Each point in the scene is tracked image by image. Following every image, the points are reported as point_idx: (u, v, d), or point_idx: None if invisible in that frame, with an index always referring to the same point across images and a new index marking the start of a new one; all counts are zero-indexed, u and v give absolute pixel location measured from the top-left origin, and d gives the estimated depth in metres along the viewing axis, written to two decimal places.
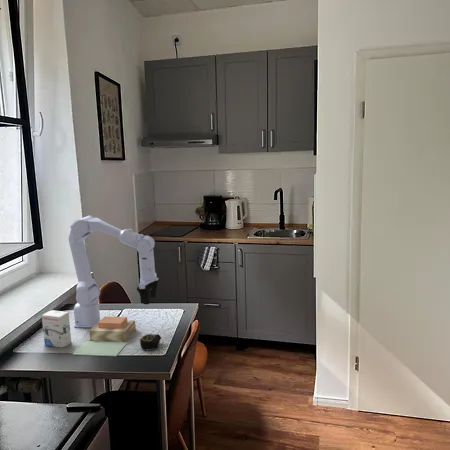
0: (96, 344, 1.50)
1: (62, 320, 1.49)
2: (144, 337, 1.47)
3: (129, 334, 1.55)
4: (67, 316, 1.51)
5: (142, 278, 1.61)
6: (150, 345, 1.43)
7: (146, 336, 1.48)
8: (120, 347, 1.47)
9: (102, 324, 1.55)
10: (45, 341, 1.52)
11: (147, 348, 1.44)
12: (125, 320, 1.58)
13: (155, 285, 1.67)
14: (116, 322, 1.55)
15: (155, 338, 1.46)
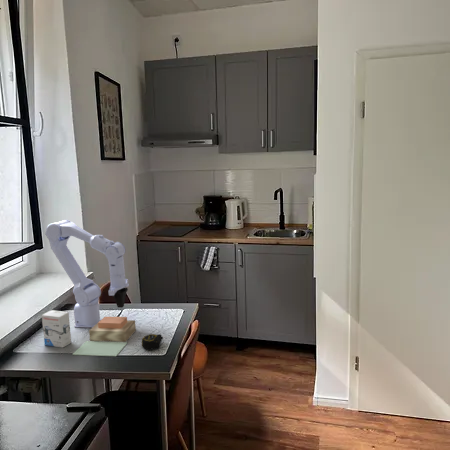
0: (96, 344, 1.50)
1: (62, 320, 1.49)
2: (146, 337, 1.47)
3: (129, 334, 1.55)
4: (67, 316, 1.51)
5: (112, 285, 1.61)
6: (151, 345, 1.43)
7: (148, 336, 1.48)
8: (120, 347, 1.47)
9: (102, 324, 1.55)
10: (45, 341, 1.52)
11: (149, 348, 1.43)
12: (125, 320, 1.58)
13: None
14: (116, 322, 1.55)
15: (157, 338, 1.46)
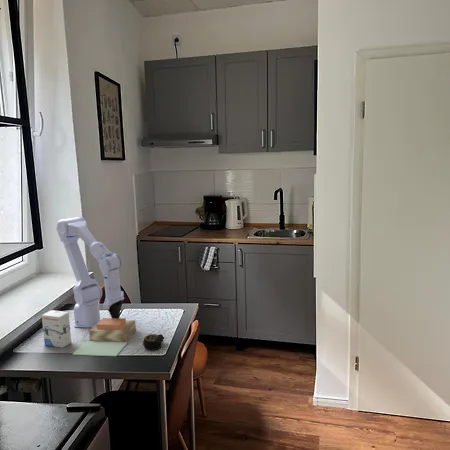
0: (96, 344, 1.50)
1: (62, 320, 1.49)
2: (147, 337, 1.47)
3: (129, 334, 1.55)
4: (67, 316, 1.51)
5: (107, 298, 1.56)
6: (153, 345, 1.43)
7: (149, 336, 1.48)
8: (120, 347, 1.47)
9: (100, 326, 1.54)
10: (45, 341, 1.52)
11: (150, 348, 1.43)
12: (124, 321, 1.57)
13: None
14: (114, 324, 1.53)
15: (158, 338, 1.46)
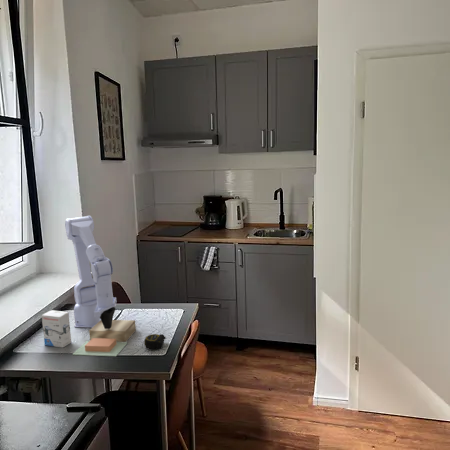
0: None
1: (62, 320, 1.49)
2: (148, 337, 1.47)
3: (129, 334, 1.55)
4: (67, 316, 1.51)
5: (98, 304, 1.49)
6: (154, 345, 1.43)
7: (150, 336, 1.48)
8: (120, 347, 1.47)
9: None
10: (45, 341, 1.52)
11: (151, 348, 1.43)
12: (111, 347, 1.45)
13: None
14: None
15: (159, 338, 1.46)
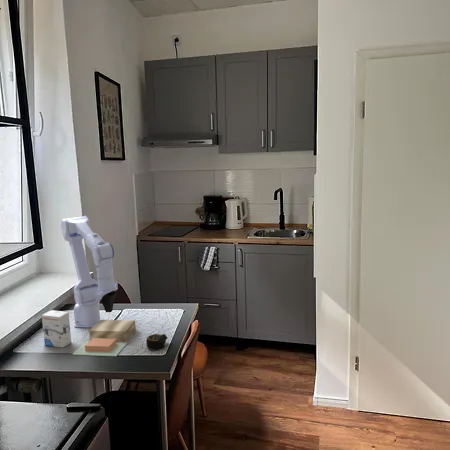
0: None
1: (62, 320, 1.49)
2: (150, 337, 1.47)
3: (129, 334, 1.55)
4: (67, 316, 1.51)
5: (100, 288, 1.50)
6: (156, 345, 1.43)
7: (152, 336, 1.48)
8: (120, 347, 1.47)
9: None
10: (45, 341, 1.52)
11: (153, 348, 1.44)
12: (111, 347, 1.45)
13: None
14: None
15: (161, 338, 1.46)
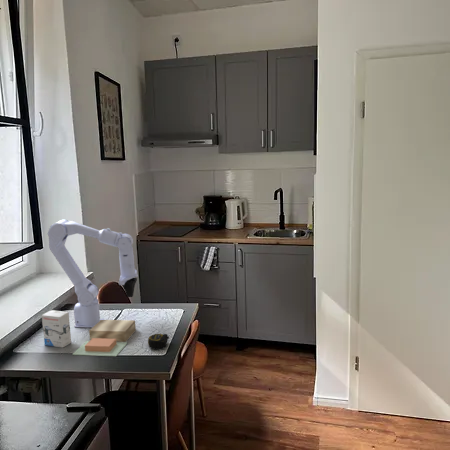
0: None
1: (62, 320, 1.49)
2: (152, 336, 1.47)
3: (129, 334, 1.55)
4: (67, 316, 1.51)
5: (122, 275, 1.66)
6: (158, 344, 1.43)
7: (154, 335, 1.48)
8: (120, 347, 1.47)
9: None
10: (45, 341, 1.52)
11: (155, 347, 1.44)
12: (111, 347, 1.45)
13: None
14: None
15: (163, 337, 1.46)
